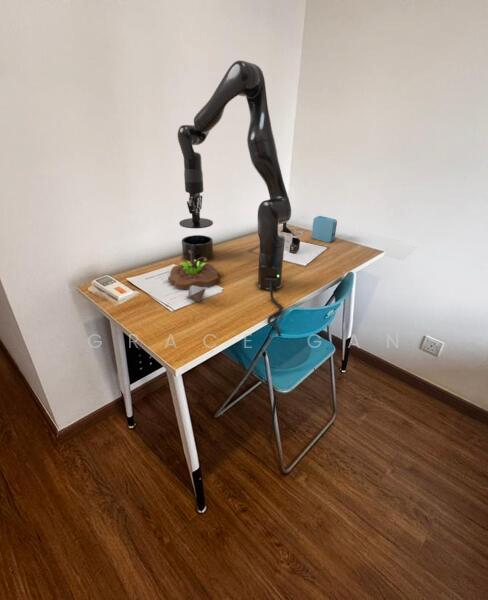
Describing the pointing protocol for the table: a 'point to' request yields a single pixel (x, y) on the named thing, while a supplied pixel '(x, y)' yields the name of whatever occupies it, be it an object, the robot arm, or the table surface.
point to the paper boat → (196, 293)
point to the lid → (200, 224)
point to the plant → (193, 274)
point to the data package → (324, 228)
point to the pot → (197, 247)
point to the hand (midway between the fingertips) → (196, 221)
